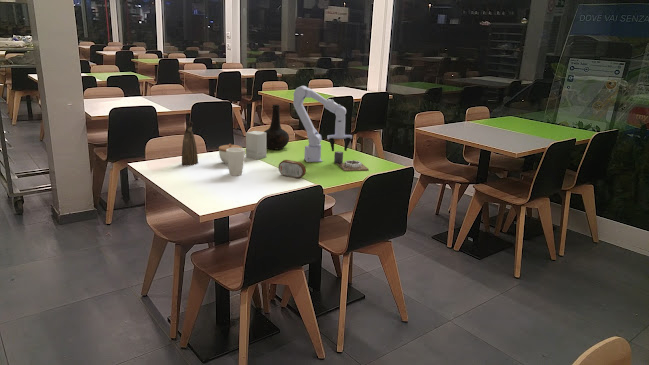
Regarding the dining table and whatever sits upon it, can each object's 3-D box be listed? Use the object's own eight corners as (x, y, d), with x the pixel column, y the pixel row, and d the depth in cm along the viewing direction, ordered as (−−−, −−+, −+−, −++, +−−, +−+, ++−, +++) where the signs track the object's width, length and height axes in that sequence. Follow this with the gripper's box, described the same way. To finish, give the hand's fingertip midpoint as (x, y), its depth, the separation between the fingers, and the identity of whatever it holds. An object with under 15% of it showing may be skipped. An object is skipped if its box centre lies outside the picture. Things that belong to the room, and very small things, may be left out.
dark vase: (257, 149, 305) (257, 105, 297) (265, 144, 322) (265, 102, 314) (285, 152, 302) (285, 107, 294) (291, 146, 319) (292, 103, 311)
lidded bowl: (214, 164, 268) (214, 144, 265) (227, 159, 280) (226, 140, 276) (234, 167, 264) (233, 147, 261) (246, 162, 275) (245, 143, 272)
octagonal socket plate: (344, 171, 265) (344, 165, 264) (337, 164, 278) (337, 159, 277) (368, 170, 268) (369, 165, 268) (360, 163, 281) (360, 158, 280)
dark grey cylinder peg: (335, 163, 280) (336, 153, 278) (333, 161, 285) (333, 151, 283) (343, 163, 281) (344, 153, 280) (341, 161, 286) (341, 151, 284)
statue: (194, 166, 262) (190, 120, 255) (180, 166, 262) (176, 120, 255) (199, 162, 270) (195, 118, 263) (186, 162, 270) (182, 117, 264)
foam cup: (229, 177, 245) (229, 152, 241) (224, 172, 252) (223, 148, 249) (247, 175, 249) (247, 151, 245) (241, 171, 257) (241, 147, 253)
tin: (305, 178, 249) (306, 162, 246) (303, 179, 246) (303, 163, 244) (280, 173, 255) (280, 158, 252) (277, 175, 252) (277, 159, 250)
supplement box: (267, 157, 288) (267, 132, 284) (257, 159, 281) (257, 134, 277) (255, 154, 293) (255, 130, 288) (245, 157, 285) (245, 132, 281)
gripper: (329, 129, 271) (328, 152, 275) (354, 128, 275) (353, 152, 279) (326, 127, 278) (325, 149, 282) (350, 126, 282) (349, 149, 286)
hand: (339, 150), depth 281 cm, fingers open, 7 cm apart
